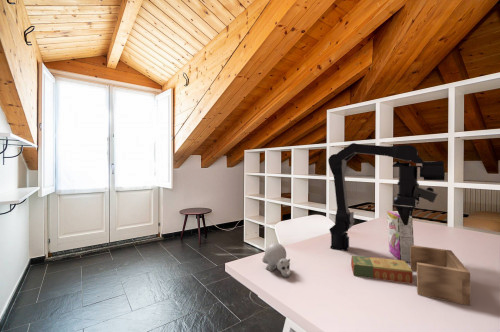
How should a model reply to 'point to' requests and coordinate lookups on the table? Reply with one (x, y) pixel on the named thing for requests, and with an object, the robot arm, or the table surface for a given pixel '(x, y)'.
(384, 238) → the table surface
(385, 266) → the carton
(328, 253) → the table surface
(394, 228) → the candy bar box
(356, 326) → the table surface
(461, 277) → the book slot
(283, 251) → the chubby cartoon animal
